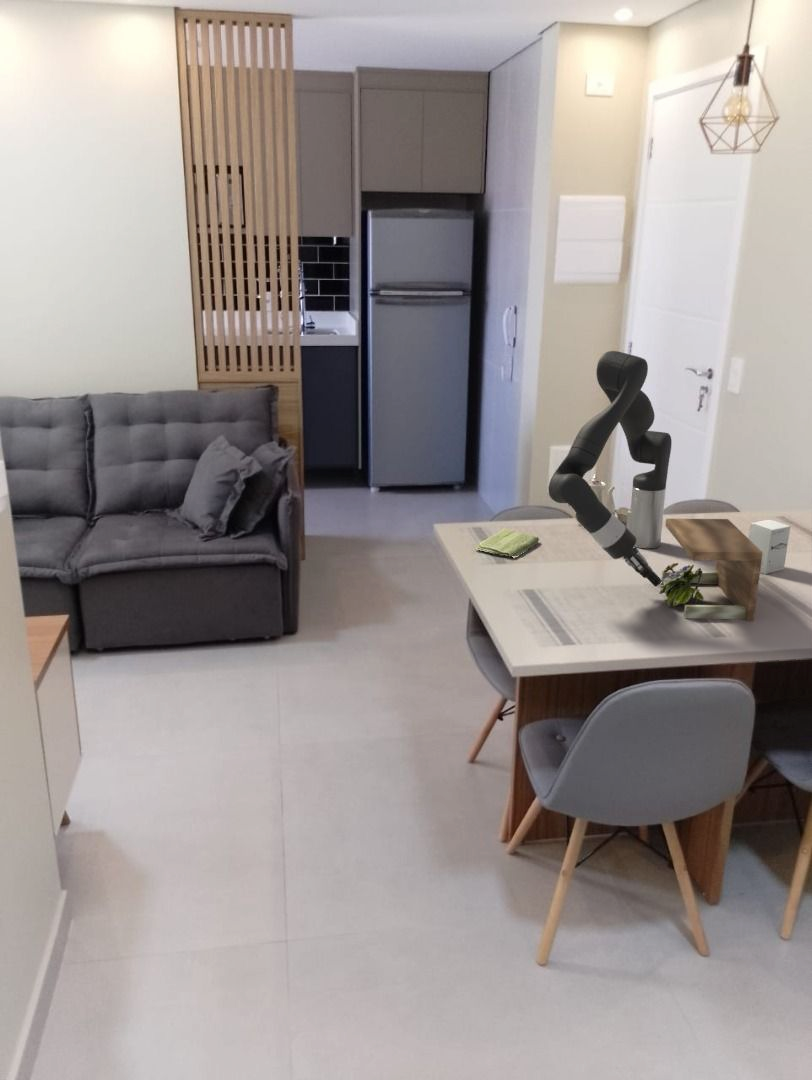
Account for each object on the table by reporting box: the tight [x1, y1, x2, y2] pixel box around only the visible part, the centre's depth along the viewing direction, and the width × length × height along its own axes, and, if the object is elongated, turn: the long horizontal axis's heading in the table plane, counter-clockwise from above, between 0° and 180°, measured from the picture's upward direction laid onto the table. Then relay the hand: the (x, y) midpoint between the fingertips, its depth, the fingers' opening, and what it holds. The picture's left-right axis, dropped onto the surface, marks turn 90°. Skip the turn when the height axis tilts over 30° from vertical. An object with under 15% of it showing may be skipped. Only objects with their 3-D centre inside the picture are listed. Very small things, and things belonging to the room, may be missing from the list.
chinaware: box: [567, 474, 631, 527], centre depth 274 cm, size 28×17×17 cm, turn 46°
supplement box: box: [747, 519, 791, 575], centre depth 236 cm, size 7×7×13 cm
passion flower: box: [658, 562, 705, 608], centre depth 216 cm, size 11×11×12 cm
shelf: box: [660, 518, 763, 622], centre depth 215 cm, size 16×25×17 cm, turn 178°
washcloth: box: [475, 528, 540, 558], centre depth 255 cm, size 13×18×3 cm
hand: (658, 583), depth 217 cm, fingers closed
